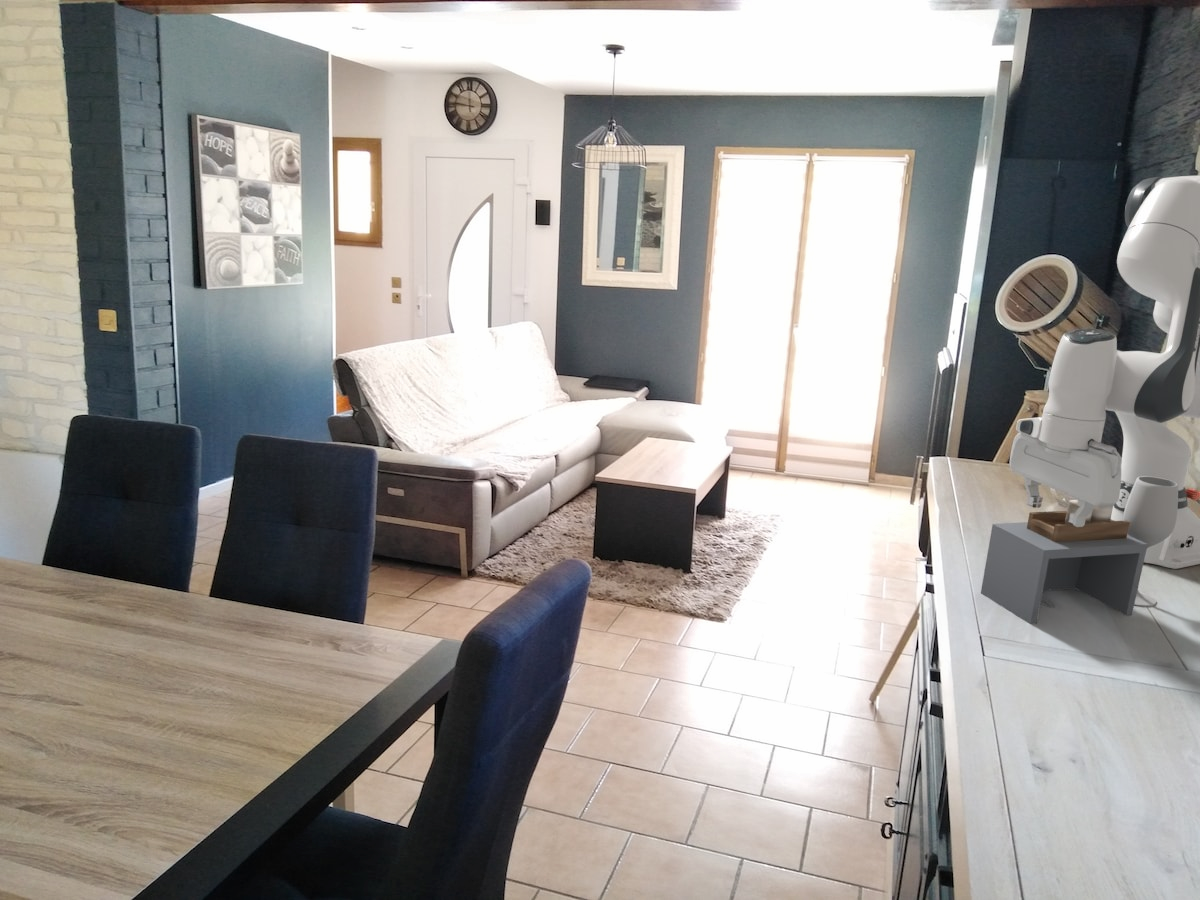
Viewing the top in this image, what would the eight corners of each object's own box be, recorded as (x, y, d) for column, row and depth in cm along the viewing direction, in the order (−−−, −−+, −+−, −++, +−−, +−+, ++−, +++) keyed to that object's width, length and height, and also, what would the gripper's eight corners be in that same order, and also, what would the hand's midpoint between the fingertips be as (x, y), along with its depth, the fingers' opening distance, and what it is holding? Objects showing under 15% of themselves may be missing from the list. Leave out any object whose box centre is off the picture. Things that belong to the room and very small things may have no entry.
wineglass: (1164, 609, 151) (1192, 490, 145) (1115, 603, 152) (1140, 485, 147) (1147, 591, 158) (1173, 477, 153) (1100, 586, 159) (1124, 472, 154)
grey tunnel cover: (1076, 585, 159) (1090, 519, 156) (1131, 615, 148) (1147, 543, 145) (980, 592, 154) (992, 524, 151) (1030, 623, 143) (1044, 550, 139)
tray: (1126, 538, 147) (1132, 508, 146) (1055, 542, 143) (1061, 511, 142) (1095, 524, 153) (1101, 495, 152) (1026, 528, 149) (1032, 498, 148)
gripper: (1140, 449, 133) (1121, 537, 137) (1041, 418, 152) (1026, 496, 156) (1105, 450, 132) (1087, 538, 135) (1010, 418, 151) (996, 497, 154)
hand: (1054, 515), depth 146 cm, fingers open, 8 cm apart
